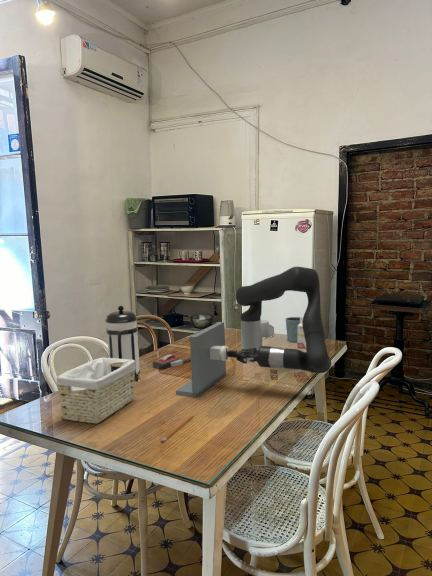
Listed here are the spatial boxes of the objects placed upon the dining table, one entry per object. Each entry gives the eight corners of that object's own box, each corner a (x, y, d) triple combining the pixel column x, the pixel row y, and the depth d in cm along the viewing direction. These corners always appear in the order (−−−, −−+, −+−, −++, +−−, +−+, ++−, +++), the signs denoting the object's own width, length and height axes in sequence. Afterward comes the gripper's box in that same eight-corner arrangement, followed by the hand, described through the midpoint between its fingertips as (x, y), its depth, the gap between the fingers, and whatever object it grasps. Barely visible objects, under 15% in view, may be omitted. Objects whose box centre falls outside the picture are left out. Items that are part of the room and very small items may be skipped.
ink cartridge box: (297, 348, 212) (296, 319, 210) (299, 345, 216) (299, 317, 214) (314, 349, 208) (314, 320, 206) (316, 347, 212) (316, 318, 210)
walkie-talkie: (163, 372, 183) (195, 360, 198) (162, 362, 182) (194, 351, 197) (149, 368, 188) (181, 357, 203) (149, 359, 188) (181, 348, 203)
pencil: (163, 443, 119) (195, 416, 136) (162, 440, 119) (193, 413, 136) (161, 444, 120) (193, 417, 137) (159, 441, 120) (191, 414, 137)
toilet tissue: (277, 336, 238) (277, 321, 237) (257, 339, 232) (256, 323, 231) (269, 333, 246) (269, 318, 245) (249, 336, 240) (248, 321, 239)
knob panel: (235, 375, 174) (233, 322, 171) (208, 398, 150) (206, 337, 147) (206, 372, 179) (204, 321, 176) (176, 394, 155) (173, 335, 153)
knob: (230, 358, 162) (229, 344, 162) (224, 363, 157) (224, 348, 157) (215, 357, 165) (215, 343, 164) (209, 361, 160) (209, 347, 159)
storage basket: (101, 394, 158) (99, 355, 157) (139, 398, 153) (137, 358, 151) (56, 421, 136) (53, 376, 134) (99, 427, 131) (96, 381, 129)
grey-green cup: (297, 344, 219) (296, 321, 218) (281, 341, 227) (281, 318, 226) (309, 340, 226) (308, 318, 225) (293, 337, 234) (293, 315, 232)
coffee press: (97, 379, 175) (92, 307, 172) (129, 369, 187) (125, 301, 183) (121, 388, 164) (116, 311, 160) (154, 377, 175) (150, 305, 172)
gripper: (277, 342, 158) (233, 339, 165) (267, 351, 146) (220, 348, 153) (278, 362, 159) (234, 358, 166) (267, 373, 147) (221, 368, 154)
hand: (227, 353), depth 159 cm, fingers closed
